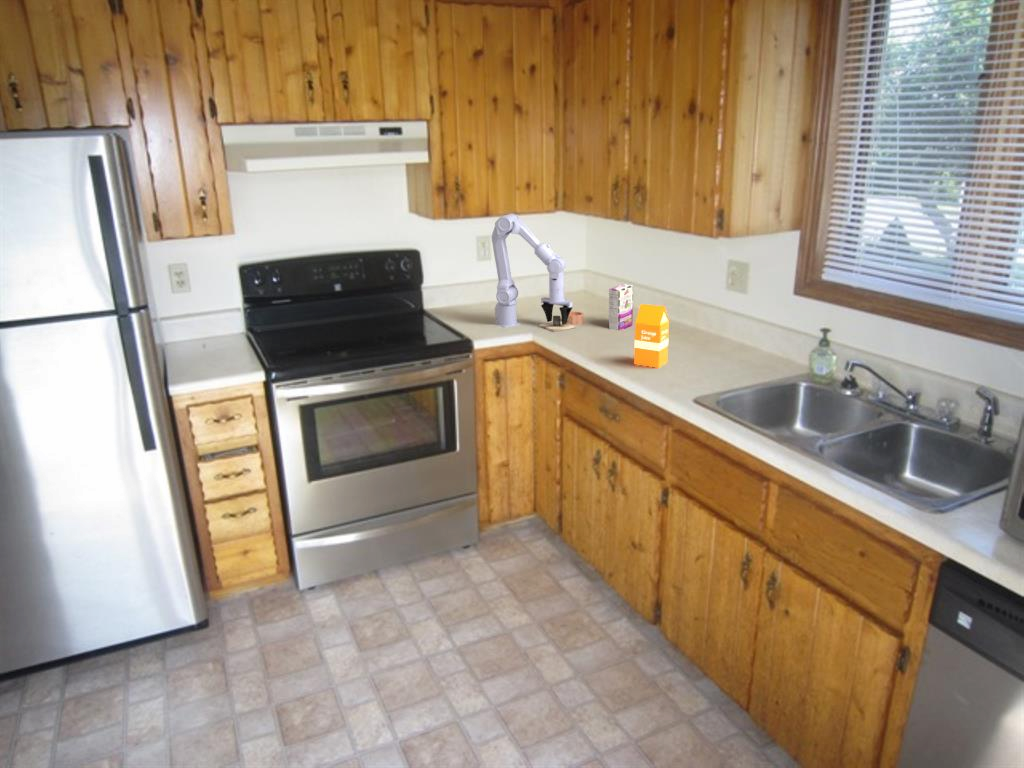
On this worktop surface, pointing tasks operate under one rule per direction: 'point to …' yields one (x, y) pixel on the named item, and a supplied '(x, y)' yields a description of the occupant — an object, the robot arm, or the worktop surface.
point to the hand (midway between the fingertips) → (556, 322)
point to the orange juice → (651, 336)
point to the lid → (556, 325)
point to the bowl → (575, 317)
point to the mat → (555, 331)
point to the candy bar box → (620, 307)
